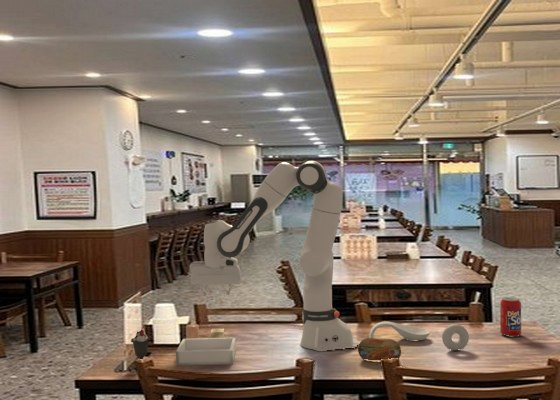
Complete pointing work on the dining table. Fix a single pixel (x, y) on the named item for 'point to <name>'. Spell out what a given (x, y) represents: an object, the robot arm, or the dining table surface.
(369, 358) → the tin
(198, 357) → the bus tub
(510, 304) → the soda can
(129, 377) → the dining table surface
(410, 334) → the spoon rest
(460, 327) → the donut
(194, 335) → the reddish brown block
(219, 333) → the birch cube
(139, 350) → the sundae
